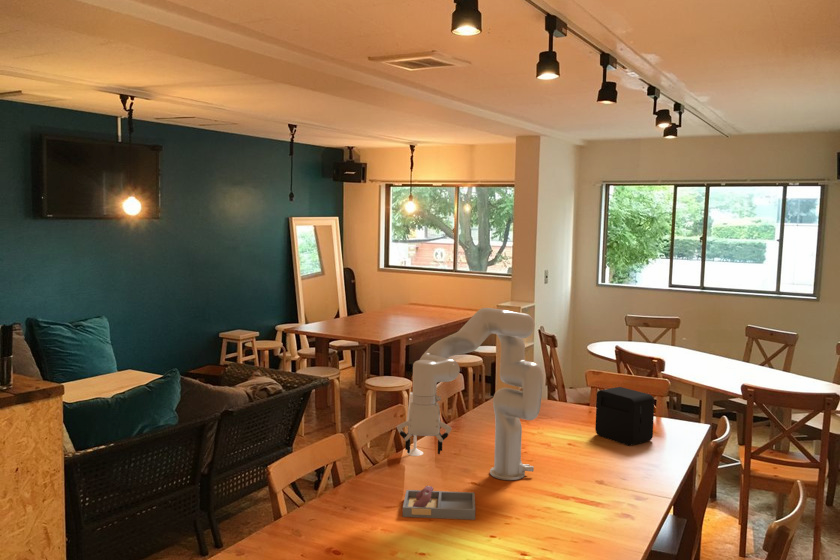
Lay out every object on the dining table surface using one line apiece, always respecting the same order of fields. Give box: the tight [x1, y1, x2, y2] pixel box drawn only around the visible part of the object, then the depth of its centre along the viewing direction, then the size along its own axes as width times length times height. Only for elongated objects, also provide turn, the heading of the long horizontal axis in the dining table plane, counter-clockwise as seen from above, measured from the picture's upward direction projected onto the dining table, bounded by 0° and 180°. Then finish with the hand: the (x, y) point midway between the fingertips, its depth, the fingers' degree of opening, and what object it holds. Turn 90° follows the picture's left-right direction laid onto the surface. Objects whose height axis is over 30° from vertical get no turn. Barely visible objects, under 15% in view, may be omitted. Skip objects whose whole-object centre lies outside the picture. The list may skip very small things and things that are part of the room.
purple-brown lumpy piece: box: [413, 485, 434, 507], centre depth 225 cm, size 10×5×7 cm, turn 173°
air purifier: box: [595, 386, 655, 447], centre depth 301 cm, size 20×15×20 cm
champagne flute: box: [406, 391, 424, 457], centre depth 277 cm, size 7×7×24 cm
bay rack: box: [402, 489, 476, 521], centre depth 225 cm, size 22×14×3 cm, turn 86°
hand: (423, 452), depth 224 cm, fingers open, 9 cm apart
